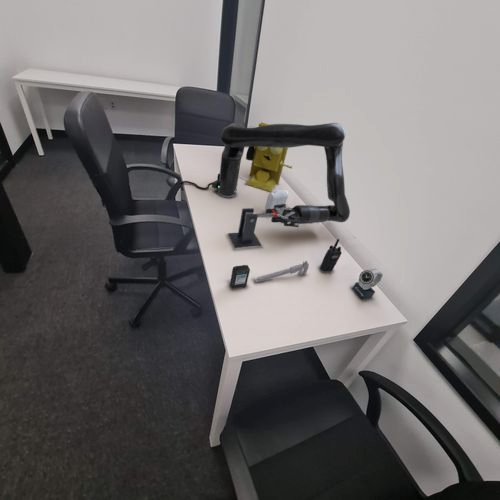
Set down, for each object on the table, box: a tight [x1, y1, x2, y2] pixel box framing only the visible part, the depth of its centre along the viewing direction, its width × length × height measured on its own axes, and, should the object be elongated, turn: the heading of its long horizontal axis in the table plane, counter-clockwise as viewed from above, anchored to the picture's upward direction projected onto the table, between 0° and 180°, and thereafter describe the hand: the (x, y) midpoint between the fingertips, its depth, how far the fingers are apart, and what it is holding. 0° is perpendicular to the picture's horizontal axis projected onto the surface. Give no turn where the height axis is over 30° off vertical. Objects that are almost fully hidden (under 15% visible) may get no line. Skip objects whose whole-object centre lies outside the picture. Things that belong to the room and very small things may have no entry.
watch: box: [352, 268, 384, 301], centre depth 91 cm, size 6×8×11 cm
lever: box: [245, 210, 279, 218], centre depth 100 cm, size 13×5×2 cm, turn 111°
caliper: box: [253, 260, 309, 283], centre depth 91 cm, size 20×1×6 cm, turn 112°
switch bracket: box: [227, 207, 262, 249], centre depth 101 cm, size 11×9×14 cm
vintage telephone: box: [238, 122, 293, 193], centre depth 142 cm, size 31×14×30 cm, turn 73°
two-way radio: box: [319, 238, 342, 273], centre depth 97 cm, size 6×4×15 cm
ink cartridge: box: [229, 264, 251, 290], centre depth 84 cm, size 5×2×8 cm, turn 111°
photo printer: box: [263, 189, 289, 214], centre depth 123 cm, size 10×4×12 cm, turn 123°
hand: (269, 215), depth 101 cm, fingers closed on lever, 5 cm apart
